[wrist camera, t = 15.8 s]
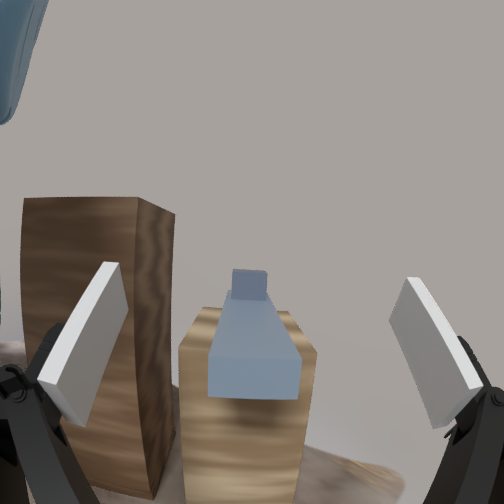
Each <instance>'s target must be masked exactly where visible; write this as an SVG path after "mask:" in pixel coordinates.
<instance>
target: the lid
mask: <svg viewBox="0 0 504 504" xmlns="http://www.w3.org/2000/svg"><path fill="white" fill-rule="evenodd" d="M266 288H267V273H266V272H265V271H258V270H240V269H233V274H232V290H228V292H227V296H226V299H225V302H224V305H223V309H222V312H221V315H220V319H219V322H218V325H217V329H216V332H215V335H214V339H213V342H212V345H211V349H210V352H209V355H208V397H221V398H239V399H279V400H287V399H298V393H299V384H300V376H301V367H302V358H301V356H300V354H299V352H298V350H297V348H296V347H295V345H294V343H293V341H292V339H291V337H290V335H289V333H288V332H287V330H286V328H285V326H284V324H283V322H282V320H281V318H280V316H279V315H278V313H277V311H276V309H275V307H274V305H273V303H272V301H271V299H270V298H269V296H268V294H267V292H266Z"/></svg>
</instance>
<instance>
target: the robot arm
mask: <svg viewBox="0 0 504 504" xmlns="http://www.w3.org/2000/svg"><path fill="white" fill-rule="evenodd" d="M48 1H49V0H0V125H3V124H5V123H7V122H8V121H9V120H10V119H11V118H12V116H13V115H14V113H15V110H16V107H17V105H18V102H19V99H20V95H21V91H22V88H23V85H24V81H25V78H26V75H27V71H28V67H29V63H30V59H31V55H32V51H33V48H34V45H35V43H36V40H37V37H38V33H39V30H40V27H41V23H42V20H43V17H44V14H45V11H46V7H47V4H48ZM128 310H129V309H128V305H127V300H126V296H125V291H124V286H123V281H122V276H121V271H120V266H119V263H116V262H103V264H102V265H101V267H100V268H99V270H98V271H97V273H96V274H95V276H94V278H93V279H92V281H91V282H90V284H89V286H88V287H87V289H86V290H85V292H84V294H83V295H82V297H81V299H80V300H79V302H78V304H77V305H76V307H75V309H74V311H73V312H72V314H71V316H70V317H69V319H68V321H67V323H66V324H63V323H56V324H55V325H54V326H53V327H52V328H50V329H49V330H48V332H47V333H46V335H45V337H44V339H43V342H41V344H40V346H39V347H38V350H37V351H36V353H35V355H34V357H33V358H32V360H31V362H30V364H29V366H28V368H27V370H26V372H25V374H24V373H23V371H22V370H21V368H19V367H18V366H17V365H13V364H8V365H4V366H3V367H1V368H0V504H30V503H29V497H28V492H27V486H26V480H27V482H28V485H29V487H30V490H31V492H32V495H33V497H34V499H35V502H36V504H100V502H99V501H98V499H97V497H96V495H95V494H94V492H93V490H92V488H91V486H90V485H89V483H88V481H87V479H86V477H85V475H84V473H83V471H82V469H81V467H80V465H79V463H78V461H77V459H76V457H75V455H74V453H73V451H72V448H71V446H70V444H69V442H68V439H67V437H66V435H65V432H64V430H63V427H62V425H61V424H60V419H61V416H62V415H63V417H64V418H65V419H66V421H67V422H68V423H72V424H75V425H79V426H83V427H85V426H86V423H87V420H88V417H89V414H90V411H91V408H92V405H93V402H94V399H95V396H96V393H97V390H98V387H99V385H100V382H101V379H102V376H103V373H104V371H105V368H106V365H107V363H108V360H109V357H110V355H111V352H112V350H113V347H114V344H115V342H116V339H117V337H118V334H119V332H120V329H121V327H122V325H123V322H124V320H125V317H126V315H127V313H128ZM0 311H1V290H0ZM389 322H390V324H391V326H392V329H393V331H394V333H395V335H396V337H397V340H398V342H399V344H400V346H401V349H402V351H403V354H404V356H405V358H406V360H407V363H408V365H409V368H410V370H411V373H412V375H413V377H414V380H415V382H416V385H417V387H418V390H419V392H420V395H421V398H422V400H423V403H424V406H425V408H426V410H427V414H428V416H429V419H430V422H431V425H432V427H433V429H436V428H440V427H444V426H447V425H448V424H449V423H450V422H451V421H452V420H453V419H454V418H455V419H456V422H457V424H456V425H455V426H454V427H453V428H452V429H451V430H450V431H448V432H447V434H446V435H445V436H444V438H447V437H448V436H449V435H450V434H451V436H450V438H449V442H448V445H447V448H446V451H445V453H444V456H443V459H442V461H441V464H440V466H439V469H438V471H437V474H436V476H435V478H434V481H433V483H432V485H431V487H430V490H429V492H428V494H427V496H426V498H425V500H424V502H423V504H504V391H503V390H502V389H500V388H498V387H492V386H491V384H490V382H489V380H488V378H487V377H486V375H485V373H484V371H483V369H482V367H481V365H480V364H479V362H478V361H477V358H476V356H475V355H474V354H473V351H472V349H471V348H470V346H469V344H468V343H467V342H466V341H465V340H464V339H463V338H462V337H461V336H456V335H455V333H454V331H453V330H452V328H451V326H450V325H449V323H448V321H447V320H446V318H445V317H444V315H443V313H442V312H441V310H440V309H439V307H438V305H437V304H436V302H435V301H434V299H433V297H432V296H431V294H430V293H429V291H428V290H427V288H426V287H425V285H424V284H423V282H422V281H421V279H420V278H415V277H407V278H406V280H405V282H404V285H403V287H402V290H401V293H400V295H399V298H398V300H397V302H396V305H395V307H394V309H393V312H392V314H391V316H390V319H389ZM0 323H1V316H0ZM25 477H26V480H25Z"/></svg>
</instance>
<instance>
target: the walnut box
mask: <svg viewBox="0 0 504 504" xmlns="http://www.w3.org/2000/svg"><path fill="white" fill-rule="evenodd" d="M174 223H175V214H173V213H171V212H169V211H167V210H165V209H162V208H161V207H159V206H156V205H154V204H152V203H150V202H148V201H145V200H144V199H141V198H139V197H47V198H46V197H45V198H24V204H23V214H22V228H21V251H20V252H21V253H20V282H21V307H22V318H23V319H22V320H23V331H24V340H25V348H26V355H27V362H28V366H29V364H30V362H31V360H32V358H33V357H34V355H35V353H36V351H37V350H38V347H39V346H40V344H41V342H43V339H44V337H45V335H46V333H47V332H48V330H49V329H50V328H52V327H53V326H54V325H55V324H56V323H63V324H66V323H67V321H68V319H69V317H70V316H71V314H72V312H73V311H74V309H75V307H76V305H77V304H78V302H79V300H80V299H81V297H82V295H83V294H84V292H85V290H86V289H87V287H88V286H89V284H90V282H91V281H92V279H93V278H94V276H95V274H96V273H97V271H98V270H99V268H100V267H101V265H102V264H103V262H116V263H119V266H120V271H121V276H122V281H123V286H124V291H125V296H126V300H127V305H128V309H129V310H128V313H127V315H126V317H125V320H124V322H123V325H122V327H121V329H120V332H119V334H118V337H117V339H116V342H115V344H114V347H113V350H112V352H111V355H110V357H109V360H108V363H107V365H106V368H105V371H104V373H103V376H102V379H101V382H100V385H99V387H98V390H97V393H96V396H95V399H94V402H93V405H92V408H91V411H90V414H89V417H88V420H87V423H86V426H85V427H83V426H79V425H75V424H72V423H68V422H67V421H66V419H65V418H64V417H63V415H62V416H61V419H60V424H61V425H62V427H63V430H64V432H65V435H66V437H67V439H68V442H69V444H70V446H71V448H72V451H73V453H74V455H75V457H76V459H77V461H78V463H79V465H80V467H81V469H82V471H83V473H84V475H85V477H86V479H87V481H88V483H89V485H92V486H96V487H99V488H103V489H106V490H110V491H114V492H118V493H122V494H126V495H130V496H135V497H139V498H144V499H149V500H154V497H155V493H156V490H157V487H158V484H159V481H160V478H161V475H162V472H163V469H164V466H165V463H166V460H167V457H168V455H169V452H170V449H171V446H172V443H173V440H174V437H175V434H176V430H175V427H174V425H173V406H172V380H171V288H172V260H173V240H174Z"/></svg>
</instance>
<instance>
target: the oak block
mask: <svg viewBox="0 0 504 504" xmlns="http://www.w3.org/2000/svg"><path fill="white" fill-rule="evenodd" d="M222 309H223V308H211V307H203V308H202V310H201V311H200V313H199V314H198V316H197V317H196V319H195V321H194V322H193V324H192V326H191V327H190V329H189V330H188V332H187V334H186V335H185V337H184V339H183V340H182V342H181V343H180V345H179V348H178V350H179V351H178V353H179V404H180V428H181V446H182V461H183V474H184V486H185V496H186V504H292V503H293V498H294V493H295V489H296V484H297V479H298V474H299V469H300V463H301V458H302V453H303V447H304V441H305V435H306V428H307V423H308V417H309V410H310V403H311V397H312V389H313V382H314V374H315V366H316V358H317V352H316V350H315V349H314V348H313V346H312V345H311V343H310V342H309V341H308V339H307V338H306V337H305V335H304V333H303V332H302V331H301V330H300V328H299V326H298V325H297V324H296V322H295V321H294V319H293V318H292V316H291V315H290V314H289V312H288V311H277V313H278V315H279V316H280V318H281V320H282V322H283V324H284V326H285V328H286V330H287V332H288V333H289V335H290V337H291V339H292V341H293V343H294V345H295V347H296V348H297V350H298V352H299V354H300V356H301V358H302V367H301V376H300V384H299V393H298V399H287V400H279V399H239V398H221V397H208V355H209V352H210V349H211V345H212V342H213V339H214V335H215V332H216V329H217V325H218V322H219V319H220V315H221V312H222Z"/></svg>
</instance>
